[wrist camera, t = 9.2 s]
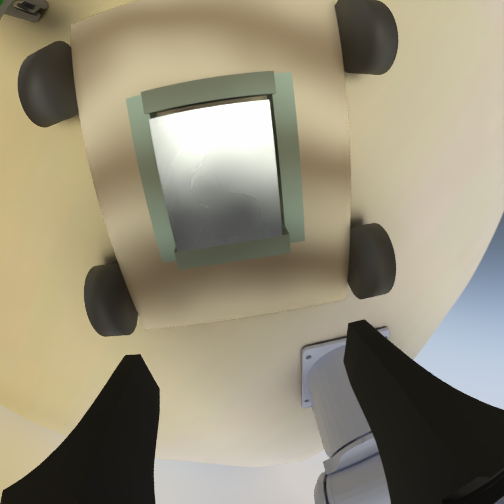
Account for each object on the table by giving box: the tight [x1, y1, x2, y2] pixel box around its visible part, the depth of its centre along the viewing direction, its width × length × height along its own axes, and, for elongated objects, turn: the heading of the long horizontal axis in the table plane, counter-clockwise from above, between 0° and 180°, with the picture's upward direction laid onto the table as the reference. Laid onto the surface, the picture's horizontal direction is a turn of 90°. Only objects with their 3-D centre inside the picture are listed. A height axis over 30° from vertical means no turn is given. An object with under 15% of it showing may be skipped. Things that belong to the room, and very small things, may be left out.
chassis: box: [18, 0, 398, 337], centre depth 13 cm, size 20×17×4 cm
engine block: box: [149, 100, 282, 252], centre depth 12 cm, size 5×4×5 cm
